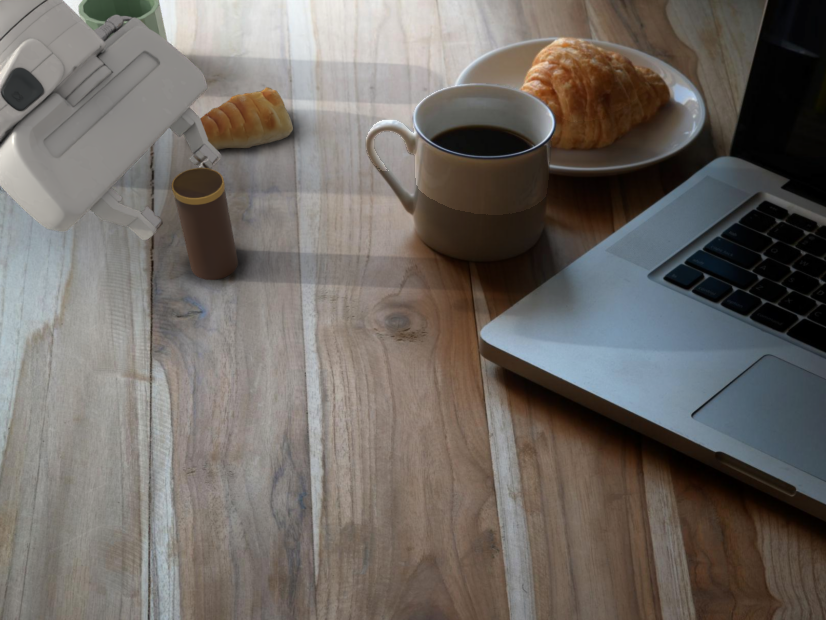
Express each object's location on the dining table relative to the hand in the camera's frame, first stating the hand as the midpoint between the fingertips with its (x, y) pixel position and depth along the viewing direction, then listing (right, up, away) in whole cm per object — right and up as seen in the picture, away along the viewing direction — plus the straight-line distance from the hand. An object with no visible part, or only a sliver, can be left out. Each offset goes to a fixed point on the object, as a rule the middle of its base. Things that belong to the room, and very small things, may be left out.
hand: (185, 197), depth 76 cm
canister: (-13, +18, +25) cm, 33 cm away
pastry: (+1, +9, +19) cm, 21 cm away
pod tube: (+1, -5, +5) cm, 7 cm away
